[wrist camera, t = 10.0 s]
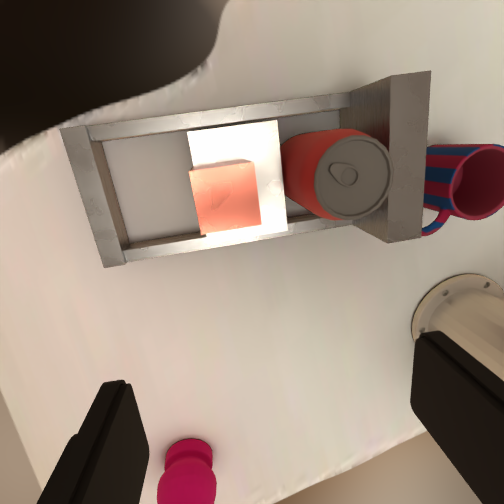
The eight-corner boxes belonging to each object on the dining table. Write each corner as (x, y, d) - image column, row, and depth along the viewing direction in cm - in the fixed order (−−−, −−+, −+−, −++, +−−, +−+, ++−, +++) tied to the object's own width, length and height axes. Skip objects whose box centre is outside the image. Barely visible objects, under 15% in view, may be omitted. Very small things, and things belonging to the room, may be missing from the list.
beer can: (290, 121, 30) (340, 105, 19) (344, 152, 32) (420, 155, 20) (260, 183, 31) (289, 203, 20) (313, 210, 33) (368, 242, 22)
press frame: (368, 92, 30) (431, 70, 22) (368, 215, 34) (421, 237, 26) (74, 130, 28) (15, 123, 19) (113, 257, 32) (78, 296, 23)
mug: (470, 177, 34) (529, 184, 28) (400, 238, 36) (441, 258, 29) (441, 130, 32) (499, 126, 26) (368, 197, 34) (405, 209, 27)
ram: (264, 125, 29) (298, 111, 18) (274, 216, 32) (308, 252, 21) (191, 135, 29) (180, 127, 18) (208, 226, 32) (208, 270, 21)
